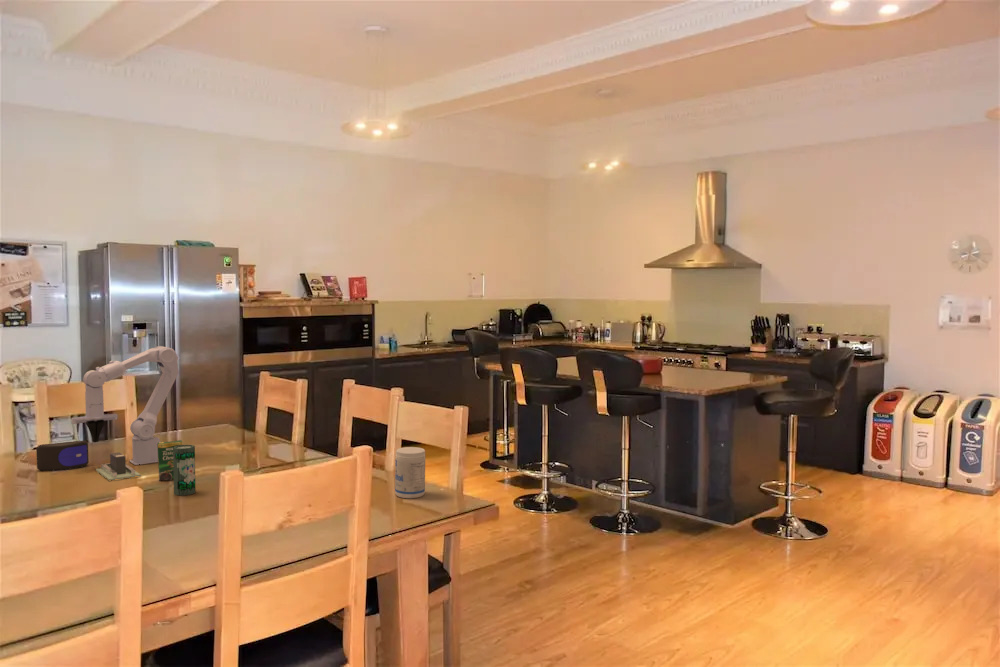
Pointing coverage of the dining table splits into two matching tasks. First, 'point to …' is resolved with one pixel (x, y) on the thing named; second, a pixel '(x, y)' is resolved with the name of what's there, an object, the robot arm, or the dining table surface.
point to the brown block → (118, 463)
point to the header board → (112, 475)
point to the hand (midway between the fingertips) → (95, 441)
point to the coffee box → (166, 459)
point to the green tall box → (184, 469)
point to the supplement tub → (410, 472)
